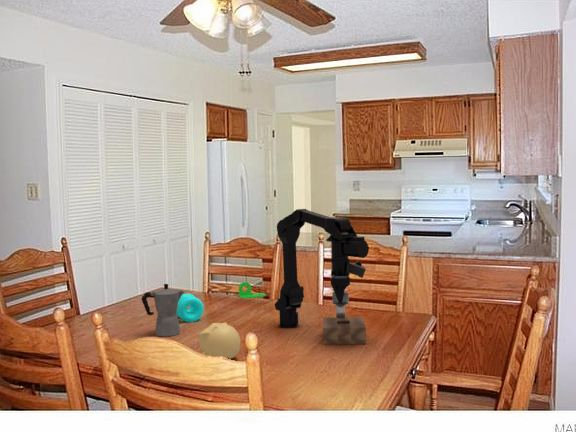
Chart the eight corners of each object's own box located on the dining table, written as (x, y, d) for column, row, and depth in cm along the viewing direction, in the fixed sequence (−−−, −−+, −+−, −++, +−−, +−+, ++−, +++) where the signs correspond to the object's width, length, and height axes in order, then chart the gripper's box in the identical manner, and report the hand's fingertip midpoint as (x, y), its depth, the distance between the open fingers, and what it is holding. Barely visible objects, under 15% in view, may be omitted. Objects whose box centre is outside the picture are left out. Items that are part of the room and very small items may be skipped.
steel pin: (332, 319, 183) (332, 294, 183) (332, 315, 189) (332, 291, 188) (349, 319, 183) (348, 294, 182) (348, 315, 188) (348, 291, 188)
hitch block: (323, 344, 181) (322, 327, 181) (323, 332, 195) (322, 317, 195) (366, 344, 180) (365, 327, 180) (363, 332, 194) (362, 317, 194)
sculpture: (216, 350, 177) (215, 316, 177) (247, 355, 171) (246, 321, 170) (193, 360, 167) (192, 325, 167) (225, 366, 161) (224, 329, 161)
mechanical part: (241, 301, 251) (241, 284, 251) (239, 299, 257) (238, 282, 256) (267, 299, 254) (266, 282, 254) (264, 297, 260) (263, 280, 260)
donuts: (197, 316, 224) (196, 291, 223) (204, 321, 215) (204, 296, 214) (173, 319, 220) (172, 294, 219) (179, 324, 211) (178, 298, 210)
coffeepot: (182, 327, 206) (180, 280, 205) (189, 333, 197) (187, 284, 196) (140, 333, 199) (138, 284, 198) (145, 340, 191) (143, 288, 190)
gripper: (365, 259, 175) (366, 307, 176) (362, 251, 193) (363, 295, 194) (330, 259, 176) (331, 307, 177) (330, 252, 194) (331, 295, 195)
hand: (340, 301), depth 186 cm, fingers closed on steel pin, 5 cm apart
